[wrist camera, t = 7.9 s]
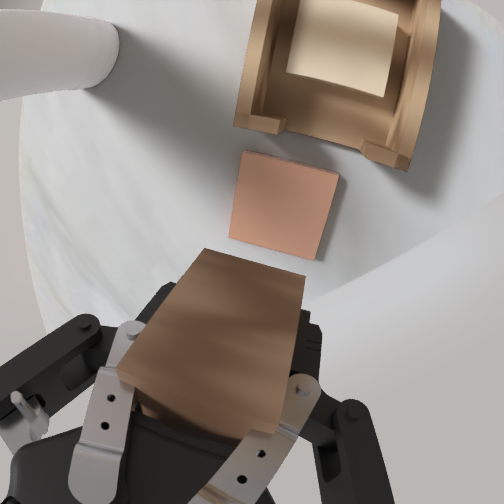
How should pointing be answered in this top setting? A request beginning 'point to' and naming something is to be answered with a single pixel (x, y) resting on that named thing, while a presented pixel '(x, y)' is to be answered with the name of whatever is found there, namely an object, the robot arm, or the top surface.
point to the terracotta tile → (281, 204)
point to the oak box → (341, 72)
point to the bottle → (53, 52)
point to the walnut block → (218, 349)
